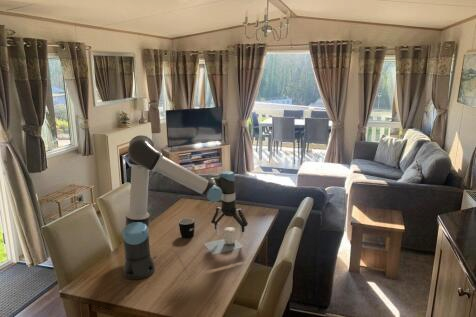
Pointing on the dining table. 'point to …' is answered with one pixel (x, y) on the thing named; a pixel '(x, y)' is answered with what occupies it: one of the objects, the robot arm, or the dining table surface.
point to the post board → (221, 246)
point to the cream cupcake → (229, 235)
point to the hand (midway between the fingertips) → (229, 236)
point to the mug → (187, 227)
